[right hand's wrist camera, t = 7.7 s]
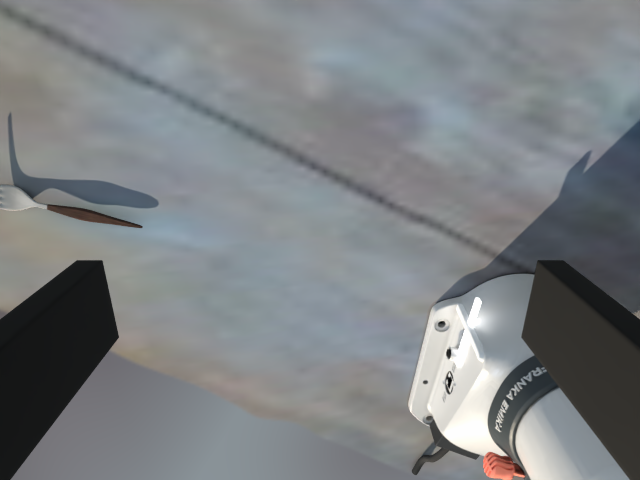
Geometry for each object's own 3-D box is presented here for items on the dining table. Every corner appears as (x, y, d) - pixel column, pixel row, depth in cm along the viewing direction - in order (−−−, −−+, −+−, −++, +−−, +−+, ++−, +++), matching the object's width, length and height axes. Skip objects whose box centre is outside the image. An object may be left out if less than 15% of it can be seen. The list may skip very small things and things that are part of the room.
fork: (143, 237, 42) (135, 244, 40) (-21, 202, 41) (-38, 208, 39) (145, 213, 41) (137, 220, 39) (-23, 177, 40) (-40, 182, 38)
